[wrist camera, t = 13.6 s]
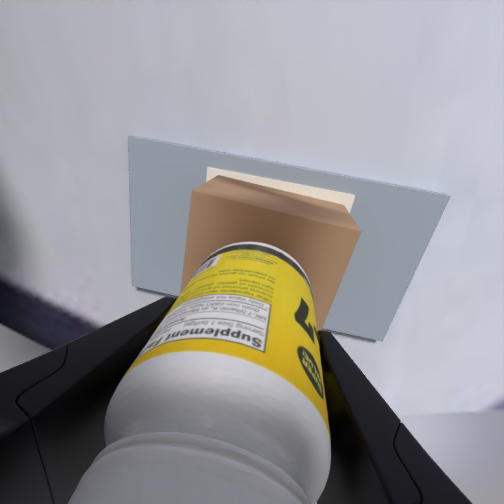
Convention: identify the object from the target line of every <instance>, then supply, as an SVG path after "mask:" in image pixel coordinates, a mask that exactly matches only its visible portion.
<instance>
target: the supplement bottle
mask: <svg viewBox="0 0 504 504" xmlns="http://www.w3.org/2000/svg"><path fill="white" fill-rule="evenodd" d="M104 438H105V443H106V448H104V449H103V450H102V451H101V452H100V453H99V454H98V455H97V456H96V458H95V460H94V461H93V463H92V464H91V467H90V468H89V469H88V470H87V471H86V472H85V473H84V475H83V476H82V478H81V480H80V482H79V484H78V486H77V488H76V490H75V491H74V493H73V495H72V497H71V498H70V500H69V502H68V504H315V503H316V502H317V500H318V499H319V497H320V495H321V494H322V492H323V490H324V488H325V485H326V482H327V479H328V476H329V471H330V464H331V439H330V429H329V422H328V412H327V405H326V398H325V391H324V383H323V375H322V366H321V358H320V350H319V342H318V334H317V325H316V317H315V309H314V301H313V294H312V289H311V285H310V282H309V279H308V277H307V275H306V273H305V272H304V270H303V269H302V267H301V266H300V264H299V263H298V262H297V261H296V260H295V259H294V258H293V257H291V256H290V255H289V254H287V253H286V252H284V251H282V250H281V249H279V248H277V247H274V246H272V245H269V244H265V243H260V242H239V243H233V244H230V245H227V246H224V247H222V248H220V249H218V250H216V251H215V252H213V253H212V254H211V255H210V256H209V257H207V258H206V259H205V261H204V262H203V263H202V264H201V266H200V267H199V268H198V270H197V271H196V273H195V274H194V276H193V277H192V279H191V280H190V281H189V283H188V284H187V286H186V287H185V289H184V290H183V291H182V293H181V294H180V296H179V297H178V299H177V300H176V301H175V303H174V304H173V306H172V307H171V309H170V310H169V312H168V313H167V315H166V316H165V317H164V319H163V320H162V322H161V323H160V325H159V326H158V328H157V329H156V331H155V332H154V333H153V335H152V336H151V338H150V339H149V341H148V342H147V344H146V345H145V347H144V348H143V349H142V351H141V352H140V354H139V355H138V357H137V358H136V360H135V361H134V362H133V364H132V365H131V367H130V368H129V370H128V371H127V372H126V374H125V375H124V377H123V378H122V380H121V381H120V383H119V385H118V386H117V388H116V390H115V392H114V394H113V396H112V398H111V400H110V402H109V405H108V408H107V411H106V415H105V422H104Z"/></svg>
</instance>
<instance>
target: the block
mask: <svg viewBox="0 0 504 504" xmlns="http://www.w3.org/2000/svg"><path fill="white" fill-rule="evenodd" d="M360 234H361V230H360V229H359V227H358V226H357V224H356V223H355V221H354V220H353V218H352V217H351V215H350V214H349V212H348V210H347V209H346V207H345V206H344V205H342V204H338V203H334V202H330V201H325V200H321V199H317V198H313V197H309V196H304V195H300V194H296V193H292V192H288V191H284V190H279V189H275V188H271V187H267V186H263V185H258V184H254V183H250V182H246V181H242V180H238V179H233V178H229V177H225V176H221V175H217V176H216V177H214V178H212V179H211V180H209V181H207V182H205V183H204V184H202V185H200V186H199V187H197V188H195V189H194V190H192V194H191V203H190V211H189V220H188V229H187V238H186V247H185V255H184V264H183V273H182V282H181V291H180V294H181V293H182V291H183V290H184V289H185V287H186V286H187V284H188V283H189V281H190V280H191V279H192V277H193V276H194V274H195V273H196V271H197V270H198V268H199V267H200V266H201V264H202V263H203V262H204V261H205V259H206V258H207V257H209V256H210V255H211V254H212V253H213V252H215V251H216V250H218V249H220V248H222V247H224V246H227V245H230V244H233V243H239V242H260V243H265V244H269V245H272V246H274V247H277V248H279V249H281V250H282V251H284V252H286V253H287V254H289V255H290V256H291V257H293V258H294V259H295V260H296V261H297V262H298V263H299V264H300V266H301V267H302V269H303V270H304V272H305V273H306V275H307V277H308V279H309V282H310V285H311V289H312V294H313V301H314V309H315V317H316V325H317V331H318V330H322V328H323V325H324V323H325V320H326V318H327V315H328V313H329V311H330V308H331V306H332V303H333V301H334V298H335V296H336V293H337V291H338V288H339V286H340V283H341V281H342V278H343V276H344V273H345V271H346V268H347V266H348V263H349V261H350V258H351V256H352V254H353V251H354V249H355V246H356V244H357V241H358V239H359V236H360Z"/></svg>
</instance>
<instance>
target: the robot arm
mask: <svg viewBox="0 0 504 504" xmlns="http://www.w3.org/2000/svg"><path fill="white" fill-rule="evenodd" d="M176 300H177V299H176V298H172V297H164V298H162V299H160V300H157V301H155V302H153V303H151V304H149V305H147V306H145V307H143V308H141V309H139V310H136V311H134V312H132V313H130V314H128V315H126V316H124V317H122V318H120V319H118V320H115V321H113V322H111V323H109V324H107V325H105V326H103V327H101V328H99V329H97V330H94V331H92V332H90V333H88V334H86V335H84V336H82V337H80V338H78V339H76V340H73V341H71V342H69V344H65V345H63V346H61V347H59V348H56V349H54V350H52V351H50V352H48V353H46V354H43V355H41V356H39V357H37V358H35V359H32V360H30V361H28V362H25V363H23V364H20V365H18V366H16V367H13V368H11V369H9V370H6V371H4V372H1V373H0V504H68V502H69V500H70V498H71V497H72V495H73V493H74V491H75V490H76V488H77V486H78V484H79V482H80V480H81V478H82V476H83V475H84V473H85V472H86V471H87V470H88V469H89V468H90V467H91V464H92V463H93V461H94V460H95V458H96V456H97V455H98V454H99V453H100V452H101V451H102V450H103V449H104V448H106V443H105V438H104V422H105V415H106V411H107V408H108V405H109V402H110V400H111V398H112V396H113V394H114V392H115V390H116V388H117V386H118V385H119V383H120V381H121V380H122V378H123V377H124V375H125V374H126V372H127V371H128V370H129V368H130V367H131V365H132V364H133V362H134V361H135V360H136V358H137V357H138V355H139V354H140V352H141V351H142V349H143V348H144V347H145V345H146V344H147V342H148V341H149V339H150V338H151V336H152V335H153V333H154V332H155V331H156V329H157V328H158V326H159V325H160V323H161V322H162V320H163V319H164V317H165V316H166V315H167V313H168V312H169V310H170V309H171V307H172V306H173V304H174V303H175V301H176ZM317 334H318V342H319V350H320V358H321V366H322V375H323V383H324V391H325V398H326V405H327V412H328V422H329V429H330V439H331V464H330V471H329V476H328V479H327V482H326V485H325V488H324V490H323V492H322V494H321V495H320V497H319V499H318V500H317V504H472V503H471V502H470V501H469V499H468V498H467V497H466V496H465V495H464V494H463V493H462V492H461V491H460V490H459V488H458V487H457V486H456V485H455V484H454V483H453V482H452V481H451V480H450V479H449V477H448V476H447V475H446V474H445V473H444V472H443V471H442V469H441V468H440V467H439V466H438V465H437V464H436V463H435V462H434V460H433V459H431V457H430V456H429V455H428V454H427V452H426V451H425V450H424V449H423V448H422V446H421V445H420V444H419V443H418V441H417V440H416V439H415V438H414V437H413V435H412V434H411V433H410V432H409V430H408V429H407V428H406V427H405V425H404V424H403V423H400V422H401V421H400V419H399V418H398V417H397V415H396V414H395V413H394V412H393V410H392V409H391V408H390V407H389V405H388V404H387V403H386V402H385V400H384V399H383V398H382V396H381V395H380V394H379V393H378V391H377V390H376V389H375V388H374V386H373V385H372V384H371V383H370V381H369V380H368V379H367V378H366V376H365V375H364V374H363V373H362V371H361V370H360V369H359V368H358V366H357V365H356V364H355V363H354V361H353V360H352V359H351V358H350V356H349V355H348V354H347V352H346V351H345V350H344V349H343V347H342V346H341V345H340V344H339V342H338V341H337V340H336V339H335V337H334V336H333V335H332V334H331V333H330V332H327V331H322V330H318V331H317Z"/></svg>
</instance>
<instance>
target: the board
mask: <svg viewBox="0 0 504 504" xmlns="http://www.w3.org/2000/svg"><path fill="white" fill-rule="evenodd" d="M128 155H129V192H130V229H131V266H132V286H134V287H139V288H143V289H148V290H152V291H157V292H161V293H166V294H170V295H175V296H180V291H181V282H182V273H183V264H184V255H185V247H186V238H187V229H188V220H189V211H190V203H191V194H192V190H194V189H195V188H197V187H199V186H200V185H202V184H204V183H205V182H207V181H209V180H211V179H212V178H214V177H216V176H217V175H221V176H225V177H229V178H233V179H238V180H242V181H246V182H250V183H254V184H258V185H263V186H267V187H271V188H275V189H279V190H284V191H288V192H292V193H296V194H300V195H304V196H309V197H313V198H317V199H321V200H325V201H330V202H334V203H338V204H342V205H344V206H345V207H346V209H347V210H348V212H349V214H350V215H351V217H352V218H353V220H354V221H355V223H356V224H357V226H358V227H359V229H360V230H361V234H360V236H359V239H358V241H357V244H356V246H355V249H354V251H353V254H352V256H351V258H350V261H349V263H348V266H347V268H346V271H345V273H344V276H343V278H342V281H341V283H340V286H339V288H338V291H337V293H336V296H335V298H334V301H333V303H332V306H331V308H330V311H329V313H328V315H327V318H326V320H325V323H324V325H323V328H324V329H328V330H333V331H337V332H342V333H347V334H351V335H356V336H360V337H365V338H369V339H374V340H378V341H383V339H384V337H385V335H386V333H387V331H388V329H389V326H390V324H391V322H392V320H393V318H394V316H395V314H396V312H397V309H398V307H399V305H400V303H401V301H402V299H403V297H404V295H405V292H406V290H407V288H408V286H409V284H410V282H411V280H412V277H413V275H414V273H415V271H416V269H417V267H418V265H419V263H420V260H421V258H422V256H423V254H424V252H425V250H426V248H427V246H428V243H429V241H430V239H431V237H432V235H433V233H434V231H435V229H436V226H437V224H438V222H439V220H440V218H441V216H442V214H443V212H444V209H445V207H446V205H447V203H448V201H449V199H450V196H448V195H446V194H442V193H437V192H432V191H426V190H421V189H416V188H410V187H405V186H399V185H394V184H389V183H383V182H378V181H372V180H367V179H362V178H356V177H351V176H346V175H340V174H335V173H329V172H324V171H319V170H313V169H308V168H303V167H297V166H292V165H286V164H281V163H276V162H270V161H265V160H260V159H254V158H249V157H243V156H238V155H233V154H227V153H222V152H217V151H211V150H206V149H200V148H195V147H190V146H184V145H179V144H174V143H168V142H163V141H157V140H152V139H147V138H141V137H136V136H128Z"/></svg>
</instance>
